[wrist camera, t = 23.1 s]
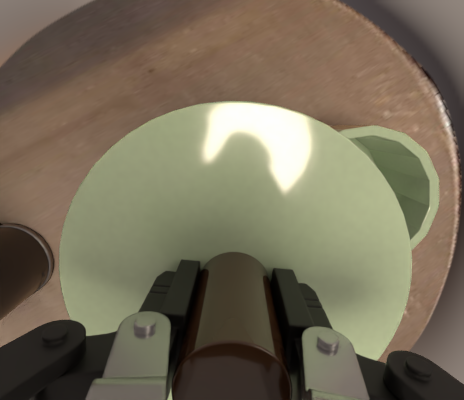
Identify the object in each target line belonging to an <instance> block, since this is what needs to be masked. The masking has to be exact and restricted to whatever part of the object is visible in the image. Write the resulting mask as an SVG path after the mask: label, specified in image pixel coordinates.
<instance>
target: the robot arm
mask: <svg viewBox="0 0 464 400" xmlns="http://www.w3.org/2000/svg"><path fill="white" fill-rule="evenodd" d="M52 272H53V257H52V253H51V251H50V248H49V247H48V245H47V243H46V242H45V241H44V240H43V239H42V238H41V237H40V236H39V235H38V234H37V233H36V232H34V231H33V230H31V229H29V228H27V227H24V226H21V225H16V224H1V223H0V320H1V319H3V318H4V317H5V316H6V315H7V314H9V313H10V312H11V311H12V310H13V309H15V308H16V307H17V306H18V305H20V304H21V303H22V302H23V301H24V300H26V299H27V298H28V297H29V296H31V295H32V294H34V293H35V292H36V291H38V290H39V289H40V288H41V287H43V286H44V285H45V284H46V283H47V282H48V280H49V279H50V277H51V275H52ZM199 274H200V261H194V260H183V259H181V261H180V263H179V266H178V268H177V271H176V272H174V271H165V272H163V273H162V274H160V275H159V276H157V277H156V279H155V281H154V283H153V286H152V287H151V289H150V291H149V293H148V294H147V296H146V298H145V300H144V302H143V304H142V306H141V308H140V310H139V311H138V313H134V314H132V315H130V316H128V317H126V318H125V319H124V320H123V321H122V322H121V323H120V325H119V327H118V330H117V331H115V332H111V333H107V334H100V335H92V336H86V329H85V327H84V325H83V324H81V323H80V322H77V321H73V320H58V321H53V322H49V323H46V324H44V325H41V326H39V327H37V328H35V329H34V330H32V331H30V332H28V333H26V334H24V335H23V336H21V337H19V338H17V339H15V340H13V341H12V342H10V343H8V344H6V345H4V346H2V347H1V348H0V400H167V399H168V397H169V394H170V390H171V384H172V378H173V374H174V371H175V367H176V363H177V359H178V355H179V351H180V347H181V343H182V340H183V337H184V334H185V330H186V326H187V322H188V318H189V314H190V310H191V306H192V302H193V298H194V294H195V290H196V286H197V282H198V278H199ZM271 288H272V292H273V297H274V302H275V306H276V311H277V316H278V321H279V325H280V330H281V335H282V339H283V344H284V349H285V353H286V358H287V363H288V368H289V372H290V377H291V382H292V390H293V391H292V399H291V400H464V384H462V383H461V382H459V381H458V380H457V379H455V378H454V377H453V376H451V375H450V374H448V373H447V372H446V371H444V370H443V369H442V368H440V367H439V366H438V365H436V364H435V363H433V362H432V361H430V360H429V359H426V358H425V357H423V356H421V355H418V354H416V353H412V352H408V351H394V352H391V353H390V354H389V355H388V358H387V362H386V363H383V362H379V361H376V360H373V359H370V358H366V357H364V356H361V355H359V354H357V353H355V350H354V347H353V345H352V343H351V342H350V340H349V339H348V338H347V337H345V336H344V335H343V334H341V333H339V332H338V331H335V330H333V328H332V326H331V324H330V322H329V319H328V317H327V315H326V313H325V311H324V309H323V308H322V305H321V303H320V301H319V298H318V296H317V294H316V292H315V291H314V290H313V289H312V288H311V287H310V286H308V285H307V284H305V283H298V281H297V278H296V276H295V273H294V271H293V270H292V269H281V268H273V271H272V277H271Z"/></svg>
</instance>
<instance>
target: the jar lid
mask: <svg viewBox="0 0 464 400" xmlns="http://www.w3.org/2000/svg"><path fill="white" fill-rule="evenodd" d="M181 259H183V260H194V261H200V274H199V278H198V282H197V286H196V290H195V294H194V298H193V302H192V306H191V310H190V314H189V318H188V322H187V326H186V330H185V334H184V337H183V340H182V343H181V347H180V351H179V355H178V359H177V363H176V367H175V371H174V374H173V378H172V384H171V390H170V394H169V397H168V399H167V400H291V399H292V391H293V390H292V382H291V377H290V372H289V368H288V363H287V358H286V353H285V349H284V344H283V339H282V335H281V330H280V325H279V321H278V316H277V311H276V306H275V302H274V297H273V292H272V288H271V277H272V271H273V268H281V269H292V270H293V271H294V273H295V276H296V278H297V281H298V283H305V284H307V285H308V286H310V287H311V288H312V289H313V290H314V291H315V292H316V294H317V296H318V298H319V301H320V303H321V305H322V308H323V309H324V311H325V313H326V315H327V317H328V319H329V322H330V324H331V326H332V328H333V330H335V331H338V332H339V333H341V334H343V335H344V336H345V337H347V338H348V339H349V340H350V342H351V343H352V345H353V347H354V350H355V353H357V354H359V355H361V356H364V357H366V358H370V359H373V360H376V361H377V360H378V359H379V358H380V356H381V355H382V353H383V352H384V350H385V349H386V347H387V346H388V344H389V343H390V341H391V340H392V338H393V336H394V334H395V332H396V330H397V328H398V326H399V324H400V322H401V319H402V316H403V313H404V310H405V307H406V304H407V301H408V296H409V290H410V284H411V276H412V253H411V245H410V236H409V232H408V229H407V225H406V221H405V217H404V214H403V212H402V209H401V207H400V205H399V202H398V200H397V198H396V195H395V193H394V191H393V190H392V188H391V187H390V185H389V183H388V182H387V180H386V179H385V177H384V175H383V174H382V172H381V171H380V170H379V169H378V168H377V167H376V165H375V164H374V163H373V162H372V161H371V159H370V158H369V157H368V156H367V155H366V154H365V153H364V152H363V151H362V150H361V149H359V148H358V147H357V146H356V145H355V144H354V143H353V142H351V141H350V140H349V139H348V138H347V137H345V136H344V135H342V134H341V133H339V132H337V131H336V130H334V129H333V128H331V127H330V126H328V125H327V124H325V123H323V122H320V121H318V120H316V119H314V118H312V117H310V116H308V115H306V114H303V113H300V112H297V111H294V110H291V109H287V108H284V107H281V106H277V105H271V104H265V103H259V102H253V101H220V102H211V103H202V104H197V105H193V106H189V107H185V108H181V109H177V110H174V111H171V112H169V113H167V114H164V115H162V116H159V117H157V118H154V119H152V120H150V121H148V122H146V123H145V124H143V125H141V126H140V127H138V128H136V129H135V130H133V131H131V132H129V133H128V134H127V135H126V136H124V137H123V138H122V139H121V140H119V141H118V142H117V143H115V144H114V145H113V146H112V147H110V148H109V149H108V151H107V152H106V153H105V154H104V155H103V156H102V157H101V158H100V159H99V160H98V161H97V162H96V163H95V164H94V165H93V167H92V168H91V170H90V171H89V173H88V174H87V175H86V177H85V178H84V180H83V181H82V183H81V184H80V186H79V188H78V190H77V192H76V194H75V196H74V198H73V200H72V202H71V204H70V207H69V210H68V213H67V216H66V219H65V222H64V225H63V230H62V235H61V241H60V247H59V275H60V283H61V291H62V294H63V298H64V302H65V306H66V310H67V312H68V315H69V317H70V320H73V321H77V322H80V323H81V324H83V325H84V327H85V329H86V336H92V335H100V334H107V333H111V332H115V331H117V330H118V327H119V325H120V323H121V322H122V321H123V320H124V319H125V318H126V317H128V316H130V315H132V314H134V313H138V311H139V310H140V308H141V306H142V304H143V302H144V300H145V298H146V296H147V294H148V293H149V291H150V289H151V287H152V286H153V283H154V281H155V279H156V277H157V276H159V275H160V274H162V273H163V272H165V271H174V272H176V271H177V268H178V266H179V263H180V261H181Z"/></svg>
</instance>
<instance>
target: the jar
mask: <svg viewBox="0 0 464 400" xmlns="http://www.w3.org/2000/svg"><path fill="white" fill-rule="evenodd" d="M330 127H331V128H333V129H334V130H336V131H337V132H339V133H341V134H342V135H344V136H345V137H347V138H348V139H349V140H350V141H351V142H353V143H354V144H355V145H356V146H357V147H358V148H359V149H361V150H362V151H363V152H364V153H365V154H366V155H367V156H368V157H369V158H370V159H371V161H372V162H373V163H374V164H375V165H376V167H377V168H378V169H379V170H380V171H381V172H382V174H383V175H384V177H385V179H386V180H387V182H388V183H389V185H390V187H391V188H392V190H393V191H394V193H395V195H396V198H397V200H398V202H399V205H400V207H401V209H402V212H403V214H404V217H405V221H406V225H407V229H408V232H409V236H410V245H411V251H412V250H413V249H414V248H415V246H416V245H417V244H418V243H419V242H420V241H421V240H422V239H423V238H424V237H425V236H426V235H427V233H428V231H429V229H430V226H431V224H432V222H433V219H434V217H435V215H436V212H437V210H438V207H439V177H438V175H437V173H436V170H435V168H434V166H433V164H432V162H431V159H430V157H429V155H428V153H427V151H426V150H425V149H423V148H422V147H421V146H420V145H419V144H417V143H416V142H415V141H414V140H413V139H411V138H410V137H409V136H408V135H407V134H405V133H403V132H400V131H396V130H392V129H388V128H384V127H380V126H377V125H333V126H330Z"/></svg>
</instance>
